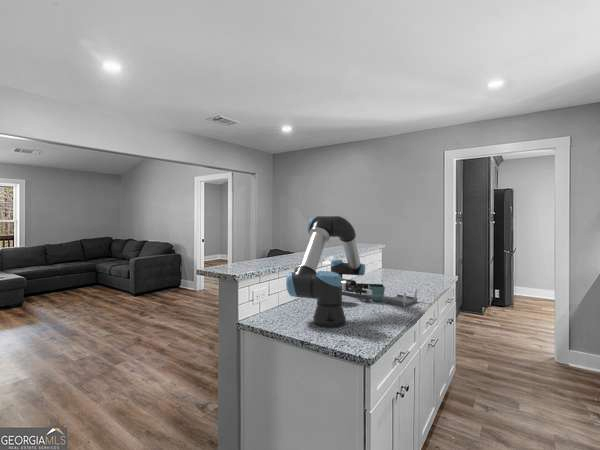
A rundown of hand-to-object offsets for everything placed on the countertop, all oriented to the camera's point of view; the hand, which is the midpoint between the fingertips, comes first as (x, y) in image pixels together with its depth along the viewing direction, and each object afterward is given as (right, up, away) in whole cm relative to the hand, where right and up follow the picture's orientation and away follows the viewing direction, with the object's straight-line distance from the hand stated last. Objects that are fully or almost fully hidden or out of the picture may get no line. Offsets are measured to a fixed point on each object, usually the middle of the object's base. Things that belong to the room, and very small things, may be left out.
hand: (378, 290), depth 190 cm
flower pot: (-1, -6, +1) cm, 6 cm away
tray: (+12, -6, -4) cm, 14 cm away
